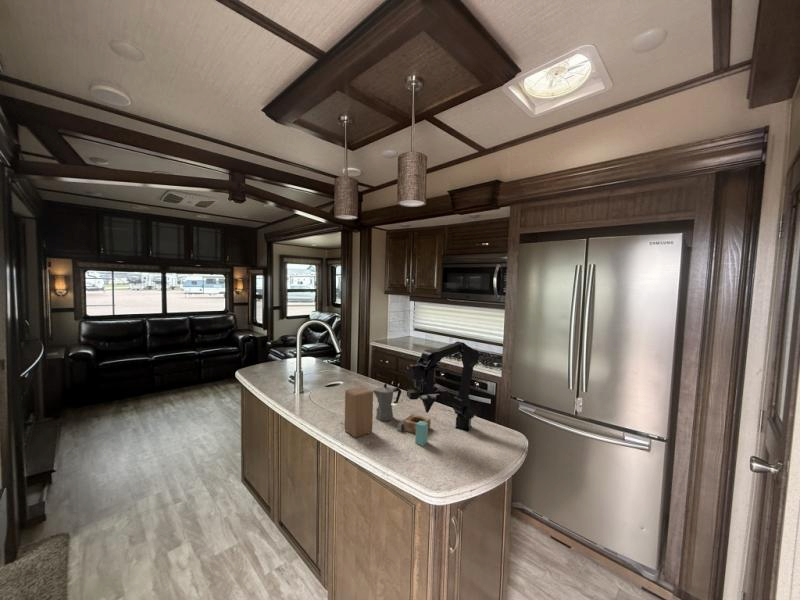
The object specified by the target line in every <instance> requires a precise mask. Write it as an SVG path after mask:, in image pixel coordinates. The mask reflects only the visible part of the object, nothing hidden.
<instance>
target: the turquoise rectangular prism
mask: <svg viewBox="0 0 800 600" xmlns="http://www.w3.org/2000/svg"><path fill="white" fill-rule="evenodd" d="M428 436H429V429H428V423H426V422H423V421H419V422H418V423H416V434H415V438H414V439H415V440H414V441H415V442H414V443H415V445H418V446H421V447H424V446H425V445H426V444H427V443H428V442H429V439H428Z"/></svg>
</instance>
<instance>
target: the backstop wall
mask: <svg viewBox="0 0 800 600" xmlns="http://www.w3.org/2000/svg"><path fill="white" fill-rule="evenodd" d="M412 415H413V414H410V415H409V416H408V417H406V418H404V419H403V420H401V421H400V422H398V423H397V432H400V433H402V432H403V431H404V430H403V428H404V420H406V419H407V418H409V417H410V416H412Z"/></svg>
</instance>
